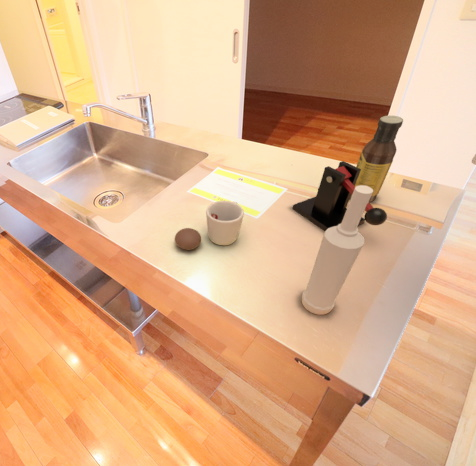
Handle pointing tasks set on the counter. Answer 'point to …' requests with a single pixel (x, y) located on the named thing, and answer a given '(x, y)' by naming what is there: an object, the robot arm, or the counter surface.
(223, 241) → the cup
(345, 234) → the bottle
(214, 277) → the counter surface
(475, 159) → the robot arm
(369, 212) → the lever
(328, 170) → the press
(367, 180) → the sauce bottle
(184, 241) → the egg
